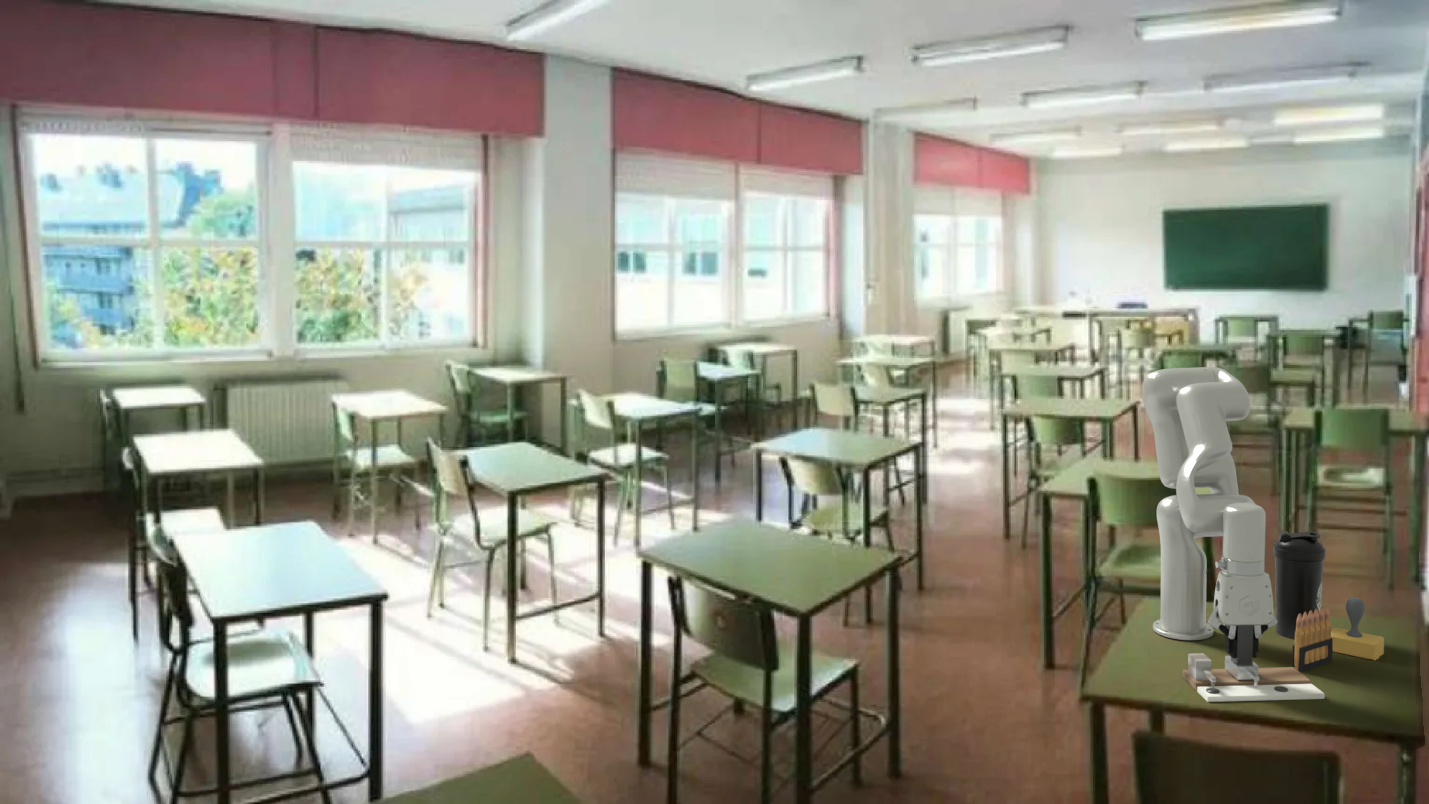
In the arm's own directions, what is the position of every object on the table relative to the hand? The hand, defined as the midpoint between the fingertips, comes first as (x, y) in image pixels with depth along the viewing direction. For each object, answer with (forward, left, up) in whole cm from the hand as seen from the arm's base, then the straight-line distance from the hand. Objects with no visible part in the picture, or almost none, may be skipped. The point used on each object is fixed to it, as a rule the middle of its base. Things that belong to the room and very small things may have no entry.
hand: (1241, 654), depth 218 cm
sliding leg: (+2, 0, -4) cm, 4 cm away
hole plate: (+6, +1, -6) cm, 9 cm away
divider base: (+2, +1, -6) cm, 6 cm away
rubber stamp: (-15, +30, -6) cm, 34 cm away
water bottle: (-27, +24, -6) cm, 36 cm away
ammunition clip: (-8, +18, -6) cm, 20 cm away
